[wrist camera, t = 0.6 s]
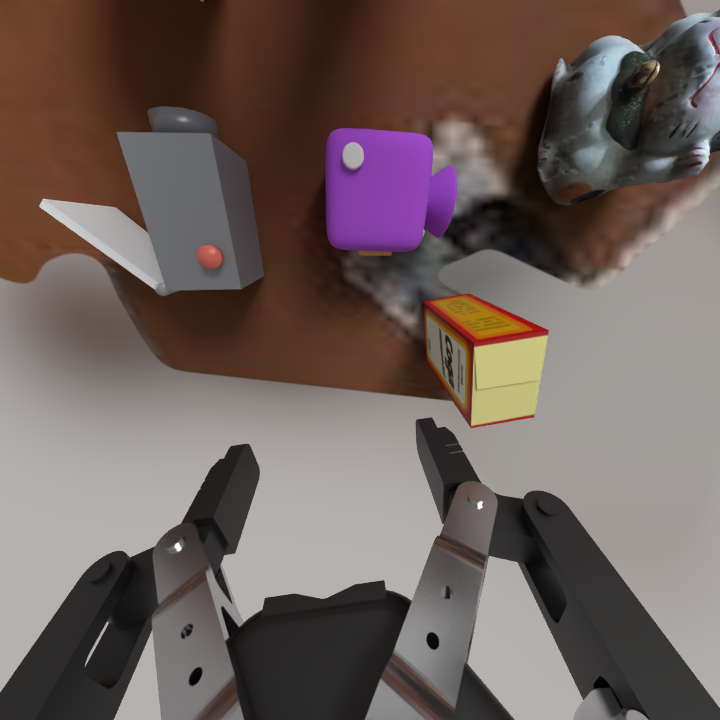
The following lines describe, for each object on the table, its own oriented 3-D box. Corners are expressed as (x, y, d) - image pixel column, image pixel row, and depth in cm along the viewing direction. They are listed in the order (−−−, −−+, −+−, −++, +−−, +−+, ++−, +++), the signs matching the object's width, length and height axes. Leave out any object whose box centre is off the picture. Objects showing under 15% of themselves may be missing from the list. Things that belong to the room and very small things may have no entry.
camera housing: (172, 133, 27) (92, 86, 19) (242, 134, 28) (197, 88, 19) (207, 276, 34) (160, 292, 25) (264, 275, 34) (238, 290, 25)
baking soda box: (467, 354, 41) (536, 419, 27) (425, 361, 41) (472, 430, 27) (468, 293, 37) (551, 331, 23) (422, 301, 37) (476, 344, 23)
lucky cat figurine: (566, 20, 26) (861, -180, 15) (600, 107, 33) (818, 17, 21) (514, 180, 28) (742, 111, 16) (557, 230, 34) (738, 206, 23)
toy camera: (439, 243, 34) (476, 246, 25) (334, 261, 34) (332, 271, 25) (437, 137, 29) (481, 94, 20) (315, 158, 29) (304, 124, 20)
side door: (108, 220, 30) (34, 216, 23) (116, 206, 29) (43, 196, 22) (198, 289, 34) (160, 304, 26) (207, 277, 33) (170, 289, 26)
